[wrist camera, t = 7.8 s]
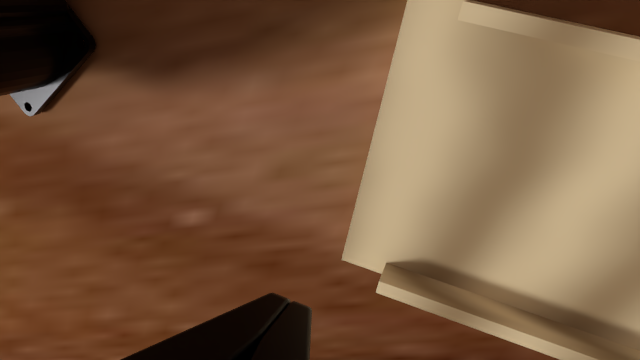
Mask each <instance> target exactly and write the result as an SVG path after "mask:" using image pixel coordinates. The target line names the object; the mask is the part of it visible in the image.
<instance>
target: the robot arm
mask: <svg viewBox="0 0 640 360" xmlns="http://www.w3.org/2000/svg"><path fill="white" fill-rule="evenodd" d="M83 40H84V42H85V46H84V44H83ZM95 46H96V44H95V40H94V39H93V37H92V35H91V34H90V33H89V32H88V30H87V29H86V28H85V26H84V25H83V24H82V22H81V21H80V20H79V18H78V17H77V16H76V15H75V13H74V12H73V11H72V9H71V8H70V7H69V5H68V4H67V3H66V1H65V0H0V96H2V95H7V94H10V95H11V97H12V98H13V99H14V100H15V102H16V103H17V104H18V105H19V107H20V108H21V109H22V110H23V112H24V113H25V114H26V115H29V116H33V115H37V114H39V113H41V111H42V110H43V109H44V108H45V107H46V106H47V105H48V103H49V102H50V101H51V100H52V99H53V98H54V96H55V95H56V94H57V93H58V92H59V91H60V90H61V88H62V87H63V86H64V85H65V84H66V83H67V82H68V80H69V79H70V78H71V77H72V76H73V75H74V74H75V72H76V71H77V70H78V69H79V68H80V67H81V65H82V64H83V63H84V62H85V61H86V60H87V59H88V57H89V56H90V55H91V54H92V53H93V52H94V50H95ZM31 106H32V107H31ZM311 317H312V310H311V308H310V307H308V306H306V305H303V304H301V303H298V302H295V301H293V302H290V300H289V299H288V298H285V297H283V296H280V295H278V294H275V293H269V294H267V295H264V296H262V297H260V298H258V299H255V300H253V301H251V302H249V303H246V304H244V305H242V306H240V307H237V308H235V309H233V310H231V311H229V312H226V313H224V314H222V315H220V316H217V317H215V318H213V319H211V320H208V321H206V322H204V323H202V324H199V325H197V326H195V327H193V328H190V329H188V330H186V331H184V332H181V333H179V334H177V335H175V336H172V337H170V338H168V339H166V340H164V341H161V342H159V343H157V344H155V345H152V346H150V347H148V348H146V349H143V350H141V351H139V352H137V353H134V354H132V355H130V356H128V357H125V358H123V359H121V360H309V358H310V337H311Z"/></svg>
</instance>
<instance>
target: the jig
mask: <svg viewBox="0 0 640 360" xmlns="http://www.w3.org/2000/svg"><path fill="white" fill-rule="evenodd" d="M342 260H344V261H347V262H350V263H353V264H355V265H358V266H361V267H364V268H367V269H369V270H372V271H375V272H378V273H381V274H382V275H381V278H380V280H379V283H378V286H377V290H376V293H379V294H381V295H384V296H387V297H390V298H392V299H395V300H398V301H401V302H403V303H406V304H409V305H412V306H414V307H417V308H420V309H423V310H425V311H428V312H431V313H434V314H436V315H439V316H442V317H445V318H447V319H450V320H453V321H456V322H458V323H461V324H464V325H467V326H469V327H472V328H475V329H478V330H480V331H483V332H486V333H489V334H491V335H494V336H497V337H500V338H502V339H505V340H508V341H511V342H513V343H516V344H519V345H522V346H524V347H527V348H530V349H533V350H535V351H538V352H541V353H544V354H546V355H549V356H552V357H555V358H557V359H560V360H640V37H639V36H635V35H630V34H625V33H621V32H616V31H612V30H607V29H602V28H598V27H593V26H589V25H584V24H579V23H575V22H570V21H566V20H561V19H557V18H552V17H547V16H543V15H538V14H534V13H529V12H524V11H520V10H515V9H511V8H506V7H502V6H497V5H492V4H488V3H483V2H479V1H474V0H408V1H407V5H406V8H405V12H404V16H403V20H402V24H401V28H400V32H399V36H398V40H397V44H396V48H395V52H394V56H393V60H392V63H391V67H390V71H389V75H388V79H387V83H386V87H385V91H384V95H383V99H382V103H381V107H380V111H379V115H378V118H377V122H376V126H375V130H374V134H373V138H372V142H371V146H370V150H369V154H368V158H367V162H366V166H365V170H364V173H363V177H362V181H361V185H360V189H359V193H358V197H357V201H356V205H355V209H354V213H353V217H352V221H351V225H350V228H349V232H348V236H347V240H346V244H345V248H344V252H343V256H342Z"/></svg>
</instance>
